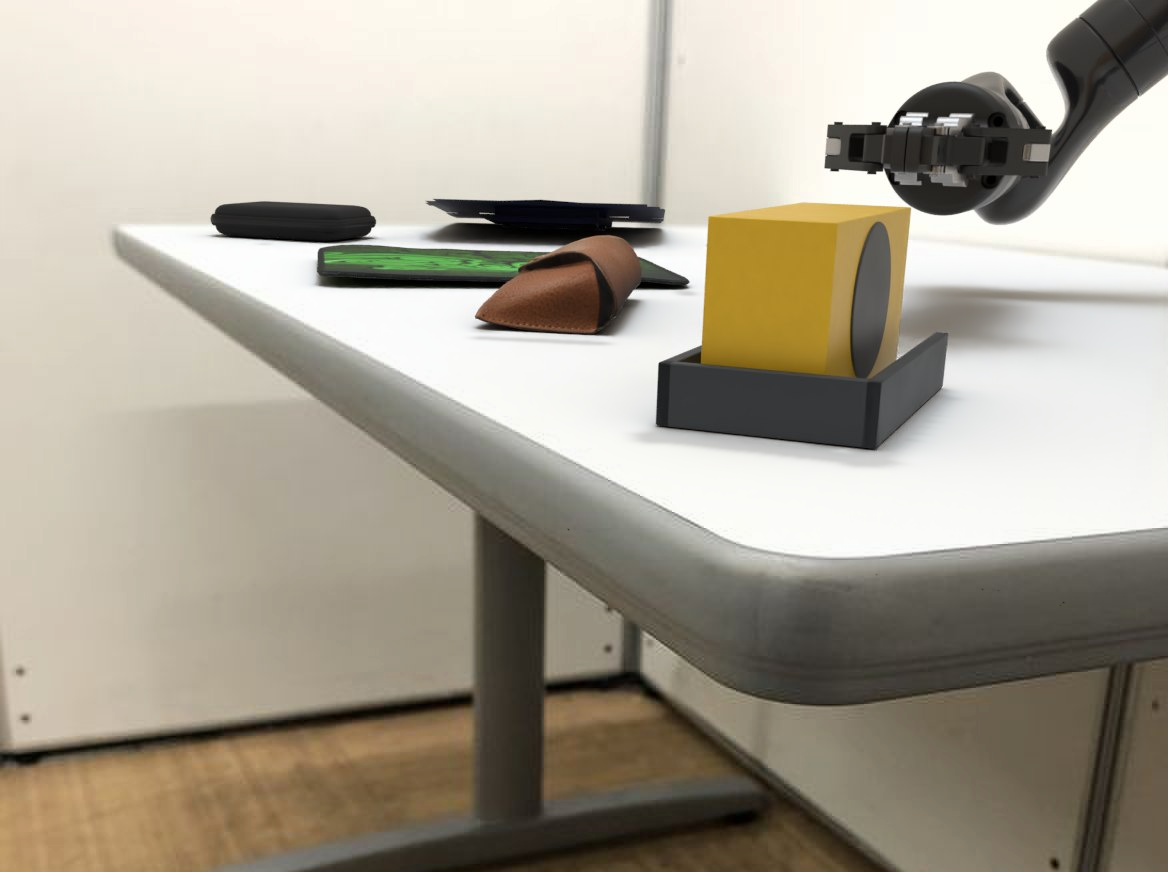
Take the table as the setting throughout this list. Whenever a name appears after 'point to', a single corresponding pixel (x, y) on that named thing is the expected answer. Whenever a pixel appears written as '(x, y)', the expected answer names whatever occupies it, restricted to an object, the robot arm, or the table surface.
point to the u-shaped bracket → (799, 398)
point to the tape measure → (805, 288)
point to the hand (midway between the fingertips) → (905, 149)
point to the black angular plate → (550, 213)
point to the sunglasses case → (568, 288)
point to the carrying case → (293, 220)
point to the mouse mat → (445, 264)
